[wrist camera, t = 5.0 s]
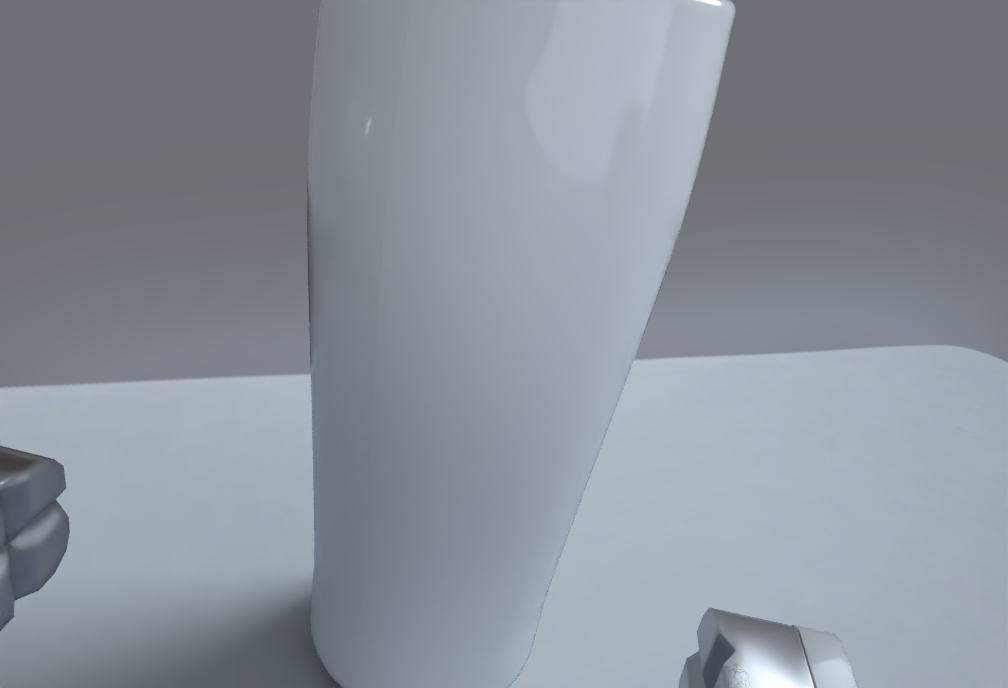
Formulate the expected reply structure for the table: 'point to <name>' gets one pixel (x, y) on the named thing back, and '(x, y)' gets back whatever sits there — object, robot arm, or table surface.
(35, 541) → the robot arm
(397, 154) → the drinking glass
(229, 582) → the table surface
